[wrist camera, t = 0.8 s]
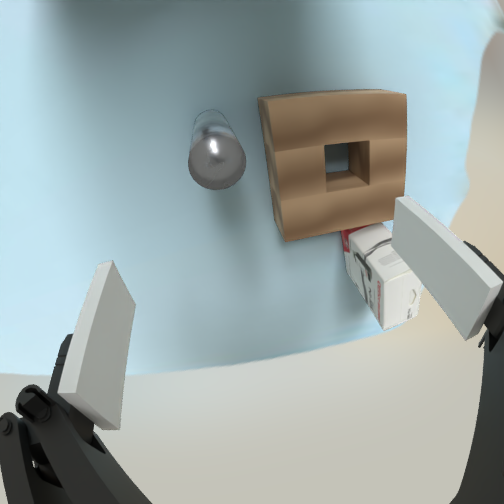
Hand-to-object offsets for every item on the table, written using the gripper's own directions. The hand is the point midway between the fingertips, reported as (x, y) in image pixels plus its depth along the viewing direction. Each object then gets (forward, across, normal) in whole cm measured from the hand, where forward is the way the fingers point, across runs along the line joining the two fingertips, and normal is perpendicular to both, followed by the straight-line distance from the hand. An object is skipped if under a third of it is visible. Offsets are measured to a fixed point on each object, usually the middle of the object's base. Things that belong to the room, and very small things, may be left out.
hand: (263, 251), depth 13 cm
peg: (+20, -1, +2) cm, 20 cm away
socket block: (+20, +11, -3) cm, 22 cm away
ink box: (+19, +14, -16) cm, 29 cm away
